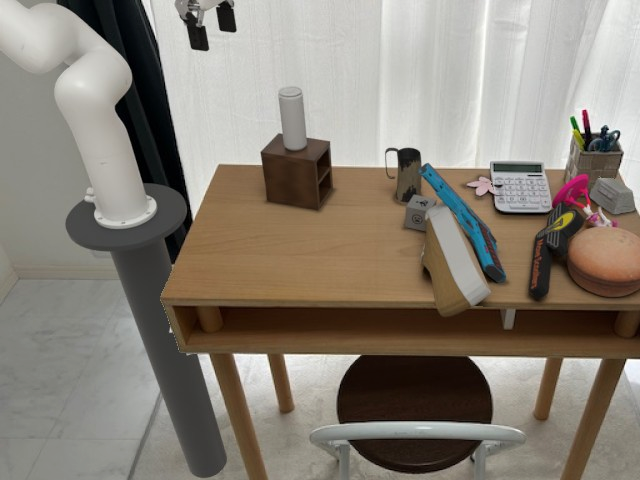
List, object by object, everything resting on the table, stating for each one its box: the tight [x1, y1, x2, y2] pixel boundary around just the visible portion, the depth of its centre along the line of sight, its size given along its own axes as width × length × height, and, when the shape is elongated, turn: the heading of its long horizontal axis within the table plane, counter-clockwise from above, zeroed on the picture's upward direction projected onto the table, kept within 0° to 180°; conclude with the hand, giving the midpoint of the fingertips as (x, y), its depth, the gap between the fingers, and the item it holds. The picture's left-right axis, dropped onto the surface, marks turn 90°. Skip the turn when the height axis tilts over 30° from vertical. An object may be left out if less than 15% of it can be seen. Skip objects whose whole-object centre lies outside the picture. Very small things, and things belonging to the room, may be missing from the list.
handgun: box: [419, 162, 508, 283], centre depth 115 cm, size 23×3×15 cm
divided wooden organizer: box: [259, 132, 334, 211], centre depth 134 cm, size 12×9×12 cm
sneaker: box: [420, 200, 492, 318], centre depth 115 cm, size 10×29×10 cm
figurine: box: [551, 173, 618, 228], centre depth 129 cm, size 10×10×15 cm
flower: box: [466, 176, 501, 197], centre depth 141 cm, size 10×10×2 cm
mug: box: [384, 147, 423, 206], centre depth 134 cm, size 8×6×12 cm
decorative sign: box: [528, 201, 585, 300], centre depth 119 cm, size 27×2×10 cm
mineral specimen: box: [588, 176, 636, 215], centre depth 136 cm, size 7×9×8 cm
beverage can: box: [277, 85, 308, 151], centre depth 126 cm, size 5×5×12 cm
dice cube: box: [404, 195, 438, 232], centre depth 128 cm, size 5×5×5 cm
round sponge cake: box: [566, 226, 640, 298], centre depth 116 cm, size 16×16×10 cm
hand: (214, 40), depth 107 cm, fingers open, 9 cm apart
